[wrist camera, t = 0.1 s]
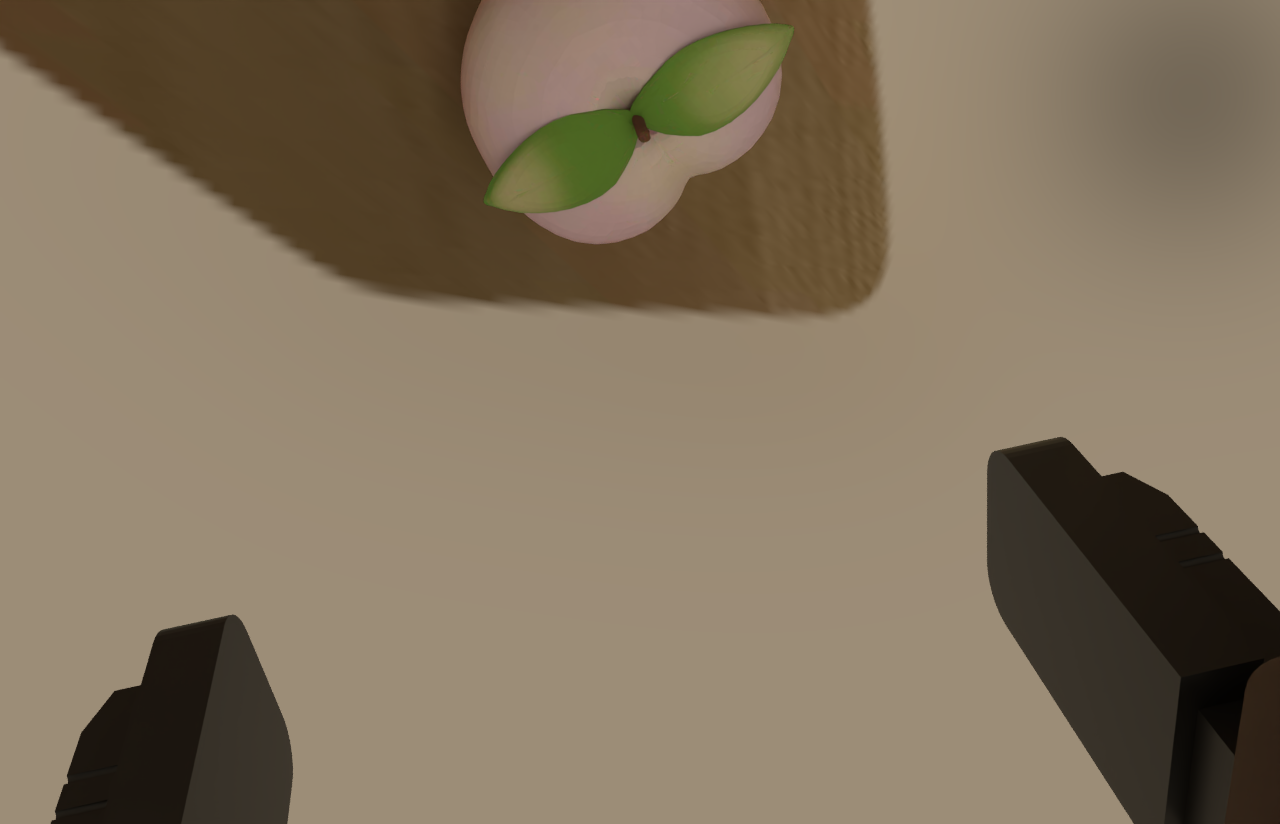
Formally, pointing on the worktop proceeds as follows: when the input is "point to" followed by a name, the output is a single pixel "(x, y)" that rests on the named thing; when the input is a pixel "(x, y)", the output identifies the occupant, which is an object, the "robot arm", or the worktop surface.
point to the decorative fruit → (615, 104)
